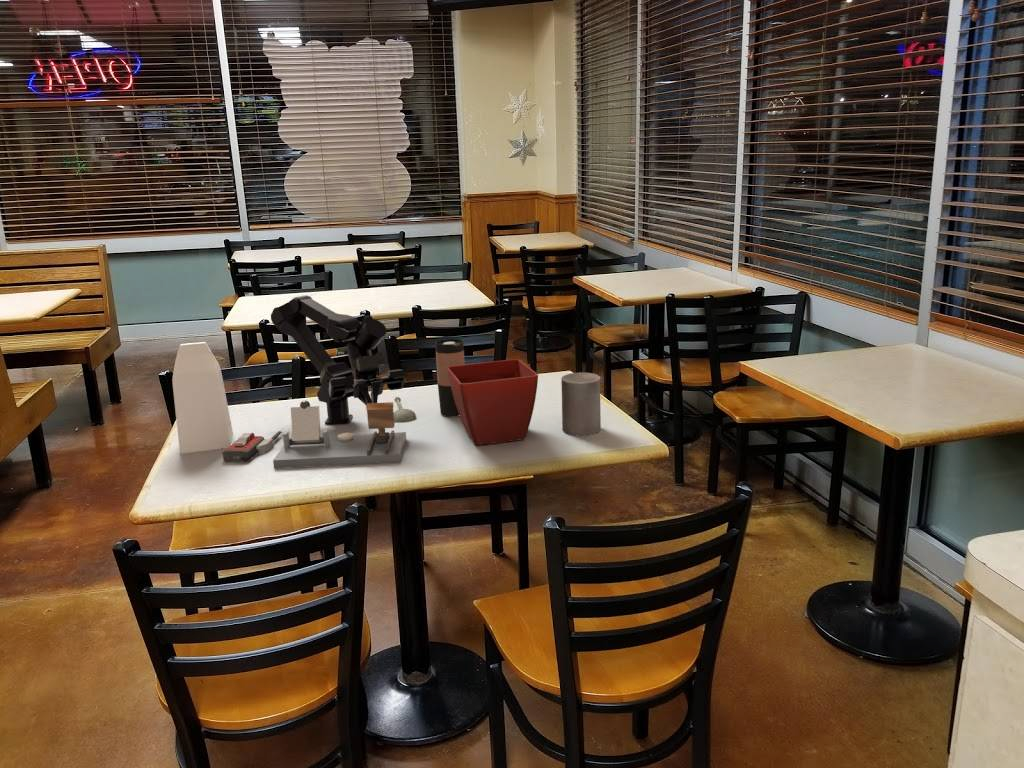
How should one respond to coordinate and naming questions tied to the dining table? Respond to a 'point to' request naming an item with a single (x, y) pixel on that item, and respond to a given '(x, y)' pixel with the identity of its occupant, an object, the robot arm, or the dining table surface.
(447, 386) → the travel mug
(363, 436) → the control panel
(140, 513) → the dining table surface
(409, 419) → the soupspoon
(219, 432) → the milk
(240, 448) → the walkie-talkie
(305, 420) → the light grey piece
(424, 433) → the dining table surface
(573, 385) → the pillar candle
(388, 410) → the walnut slider lever
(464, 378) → the plant pot
